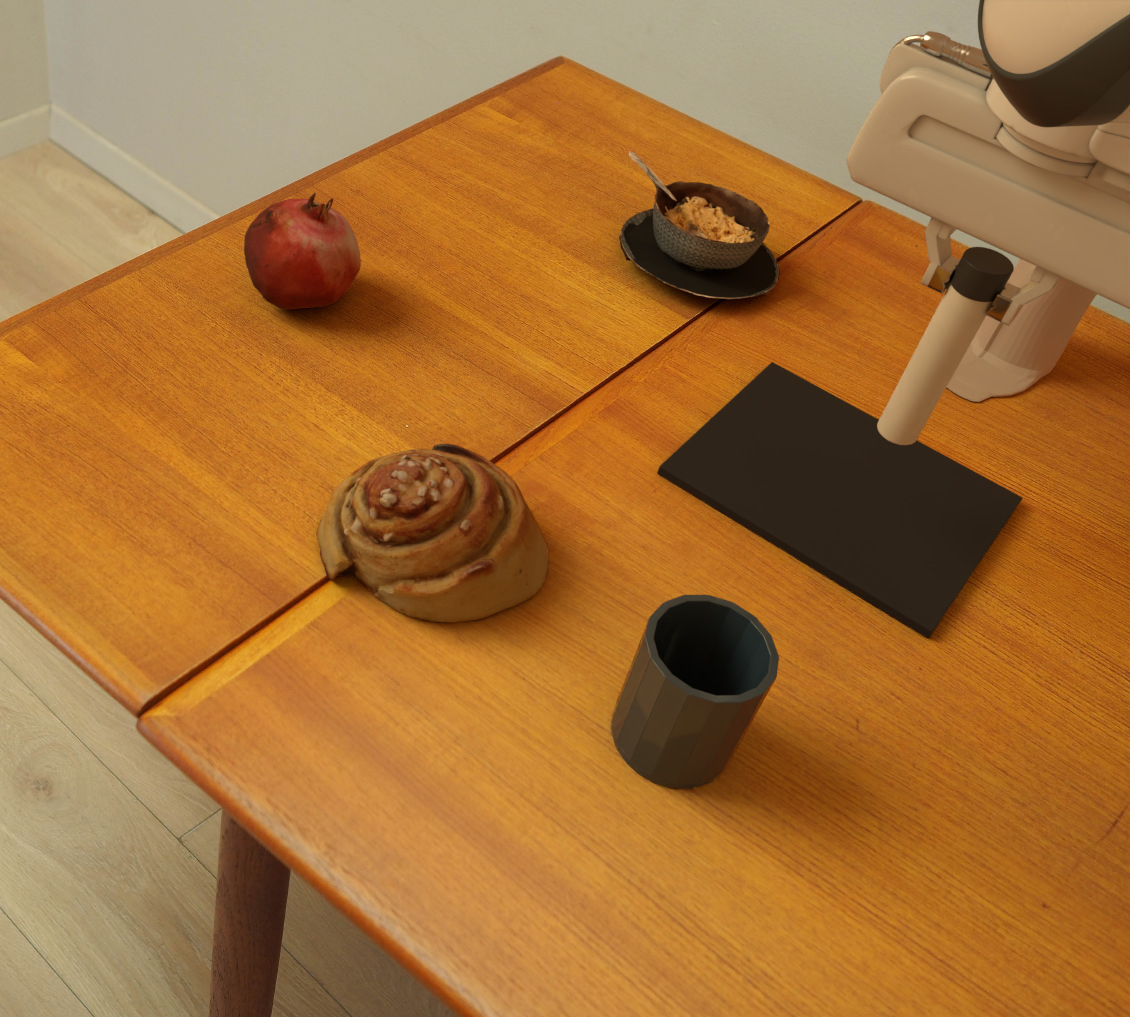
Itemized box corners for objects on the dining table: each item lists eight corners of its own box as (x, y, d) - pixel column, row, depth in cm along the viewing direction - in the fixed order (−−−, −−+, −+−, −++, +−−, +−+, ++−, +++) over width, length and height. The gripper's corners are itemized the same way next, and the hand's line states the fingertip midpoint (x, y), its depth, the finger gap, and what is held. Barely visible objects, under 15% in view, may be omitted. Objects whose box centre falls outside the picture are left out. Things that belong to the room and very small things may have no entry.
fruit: (220, 292, 95) (217, 184, 88) (303, 250, 101) (306, 146, 93) (298, 345, 92) (301, 237, 84) (380, 298, 97) (389, 194, 90)
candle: (916, 370, 99) (1026, 159, 85) (997, 318, 106) (1112, 115, 92) (989, 417, 96) (1117, 206, 81) (1067, 360, 103) (1198, 156, 88)
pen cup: (752, 733, 71) (801, 645, 64) (691, 813, 66) (737, 727, 60) (652, 664, 74) (689, 573, 67) (587, 736, 69) (620, 647, 63)
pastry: (293, 507, 79) (295, 421, 74) (488, 462, 85) (504, 378, 79) (363, 655, 71) (372, 572, 66) (573, 595, 77) (598, 512, 71)
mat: (1018, 504, 88) (1023, 497, 88) (928, 639, 78) (933, 631, 77) (769, 368, 97) (772, 361, 96) (656, 473, 86) (659, 465, 86)
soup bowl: (682, 328, 99) (706, 255, 94) (578, 229, 108) (595, 157, 103) (809, 290, 106) (837, 220, 100) (700, 200, 114) (722, 131, 109)
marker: (925, 432, 80) (1021, 262, 70) (908, 453, 78) (1004, 281, 68) (886, 411, 81) (974, 240, 71) (868, 431, 79) (956, 259, 69)
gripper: (880, 34, 63) (797, 247, 73) (1263, 189, 56) (1112, 403, 66) (925, 5, 67) (839, 211, 77) (1289, 147, 60) (1142, 356, 69)
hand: (967, 301), depth 71 cm, fingers closed on marker, 3 cm apart
